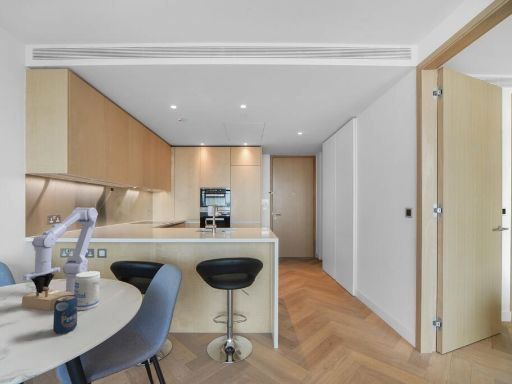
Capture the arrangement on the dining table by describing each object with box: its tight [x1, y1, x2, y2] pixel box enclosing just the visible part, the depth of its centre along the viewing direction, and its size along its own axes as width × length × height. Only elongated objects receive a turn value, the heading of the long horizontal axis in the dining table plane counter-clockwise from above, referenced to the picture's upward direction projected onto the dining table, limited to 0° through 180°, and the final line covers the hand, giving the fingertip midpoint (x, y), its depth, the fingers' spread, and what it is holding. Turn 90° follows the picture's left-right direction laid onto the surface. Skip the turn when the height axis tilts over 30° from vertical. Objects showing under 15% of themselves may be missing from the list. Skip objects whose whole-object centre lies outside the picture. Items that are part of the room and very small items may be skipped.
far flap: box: [22, 286, 61, 301], centre depth 114 cm, size 5×16×5 cm, turn 76°
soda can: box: [52, 295, 78, 336], centre depth 93 cm, size 7×7×12 cm
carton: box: [21, 289, 72, 311], centre depth 117 cm, size 10×16×4 cm, turn 76°
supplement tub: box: [74, 270, 101, 311], centre depth 115 cm, size 10×10×15 cm
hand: (42, 291), depth 114 cm, fingers closed on far flap
